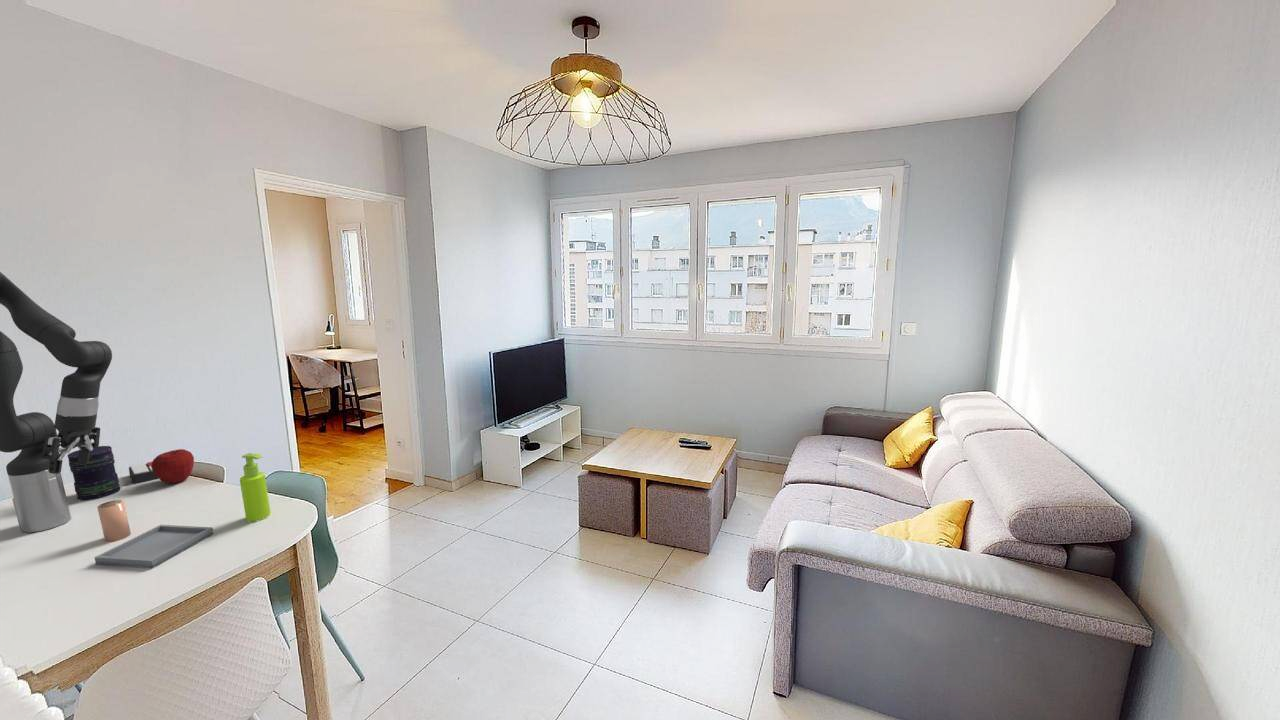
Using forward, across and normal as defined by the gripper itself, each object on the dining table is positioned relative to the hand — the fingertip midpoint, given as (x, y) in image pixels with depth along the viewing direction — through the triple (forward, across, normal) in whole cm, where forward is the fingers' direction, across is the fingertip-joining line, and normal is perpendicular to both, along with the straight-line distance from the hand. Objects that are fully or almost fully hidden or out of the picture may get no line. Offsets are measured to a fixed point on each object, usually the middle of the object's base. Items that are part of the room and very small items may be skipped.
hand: (69, 468), depth 136 cm
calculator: (+16, -43, -3) cm, 46 cm away
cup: (+16, +5, +17) cm, 24 cm away
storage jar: (+19, -28, -11) cm, 36 cm away
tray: (+14, +14, +31) cm, 37 cm away
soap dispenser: (+9, +1, +49) cm, 49 cm away
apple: (+14, -34, +7) cm, 37 cm away
